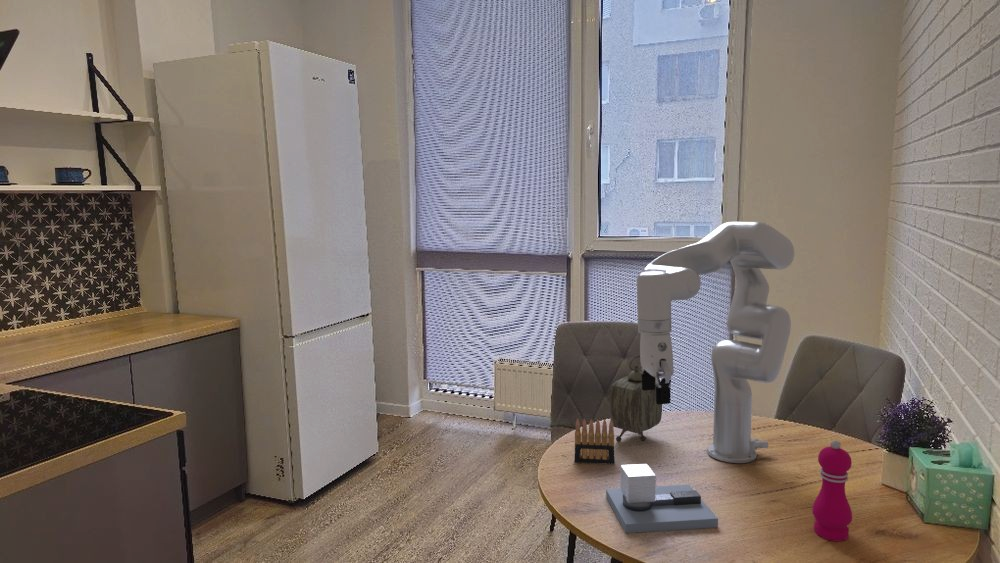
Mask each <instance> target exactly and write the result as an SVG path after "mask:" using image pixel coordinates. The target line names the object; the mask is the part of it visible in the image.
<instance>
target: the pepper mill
mask: <svg viewBox="0 0 1000 563" xmlns="http://www.w3.org/2000/svg"><path fill="white" fill-rule="evenodd" d="M817 456H818V457H817V461H818V463H819V466H820V467H821V468H820V469H819V470H820V472H819V473H820V474H819V475H820V477H821V482H822V483H821V487H820V491H819V492H818V495H817V496H816V497H815V500H814V501H813V504H812V510H811V511H812V515H813V517H814V518H815V519H816V520H815V521H814V523H813V524H814V525H813V530H814V532H815V534H816V535H818V536H819V537H821V538H822V539H826V540H828V541H831V542H832V541H834V542H842V541H843V542H844V541H846V540H847V539H849V532H850V530H849V525H850V524H851V523H852V520H853V512H852V508H851V506H850V504H849V501H848V498H847V494H846V483H847V482H848V480H849V479H848V478H849V477H848V476H849V473H848V471H849V470H851V467H852V458H851V456H850V454H849V453H848V451H846V450H845V449H843V448H842V447H841V443H840V442H839V441H838V440H834V439H833V440H832V441H831V442H830V446H826V447H824V448H822V449H821V450H820V451H819V453H818V455H817Z"/></svg>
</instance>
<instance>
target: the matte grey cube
mask: <svg viewBox="0 0 1000 563" xmlns="http://www.w3.org/2000/svg"><path fill="white" fill-rule="evenodd" d="M656 477H657V476H656V474H655V473H654V471H653V470H652V468H651V467H650V466H649V465H648V463H638V464H635V463H634V464H621V465H620V488H621V492H622V493H623V495H624V497H625V498H626V500H627V502H628V503H639V502H655V487H656V480H657V479H656Z"/></svg>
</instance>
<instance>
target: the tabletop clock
mask: <svg viewBox="0 0 1000 563" xmlns="http://www.w3.org/2000/svg"><path fill="white" fill-rule="evenodd" d="M638 358H639V359H640V354H639V355H638V354H637V355H634V356H633V357H632V358H631V359H630V361H629V364H628V365H629V366H628V367H629V369H630V370H631V371H630V372H628V374H627V376H623V377H621V378H620V379H617V380H616V381H614V382H613V384H612V385H611V389H610V395H609V396H610V397H609V398H610V399H609V420H612V422H613V428H617V429H620V430H622V431H621V432H620V434H619V435H617V436H616V437H615V441H616V442H618V443H619V442H621V441H622V436H623V435H624V434H625V433H626V432H629V433H630V432H631V433H634V434H640V438H639V439H640V441H641V442H645V441H646V439H647V438H646V436H645V435H644V432H646V431H647V430H651V429H652V428H654V427H656V426H658V425H659V424H660V422H661V420H662V414H663V404H659V405H658V404H657V403H656V387H657V383H656V379H655V390H645V391H644V390H642V373H641V369H642V366H641V364H640V365H638V364H635V365H634V367H632V362H633V361H634V360H635V359H638Z"/></svg>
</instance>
